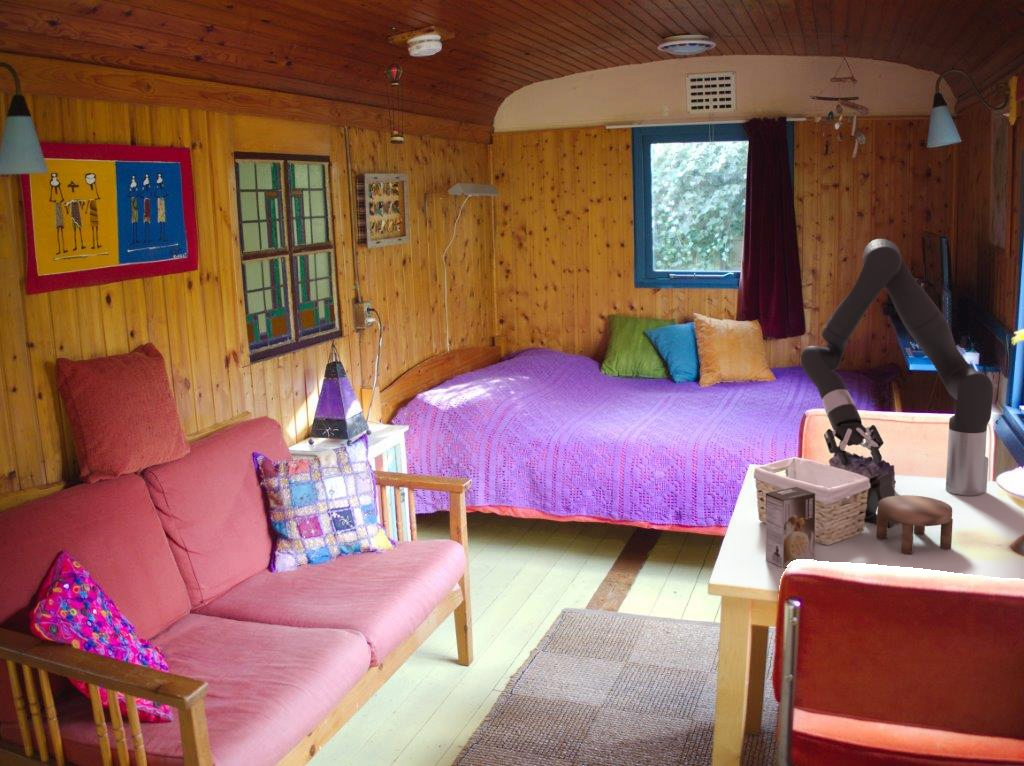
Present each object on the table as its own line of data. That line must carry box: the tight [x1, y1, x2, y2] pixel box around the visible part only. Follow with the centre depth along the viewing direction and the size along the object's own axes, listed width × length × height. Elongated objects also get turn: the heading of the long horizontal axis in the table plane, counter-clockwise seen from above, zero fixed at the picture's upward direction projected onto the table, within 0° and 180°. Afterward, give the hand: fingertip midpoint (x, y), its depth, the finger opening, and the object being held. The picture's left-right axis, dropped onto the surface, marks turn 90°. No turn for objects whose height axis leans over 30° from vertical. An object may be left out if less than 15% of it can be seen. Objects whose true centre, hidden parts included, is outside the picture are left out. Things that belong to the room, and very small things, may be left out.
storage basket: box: [753, 456, 871, 546], centre depth 241 cm, size 24×16×15 cm
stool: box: [875, 494, 954, 556], centre depth 229 cm, size 16×16×9 cm
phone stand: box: [860, 472, 899, 529], centre depth 244 cm, size 9×6×12 cm, turn 40°
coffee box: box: [765, 487, 816, 569], centre depth 221 cm, size 9×6×16 cm
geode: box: [828, 451, 897, 493], centre depth 273 cm, size 20×12×10 cm, turn 40°
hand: (863, 464), depth 250 cm, fingers open, 8 cm apart
